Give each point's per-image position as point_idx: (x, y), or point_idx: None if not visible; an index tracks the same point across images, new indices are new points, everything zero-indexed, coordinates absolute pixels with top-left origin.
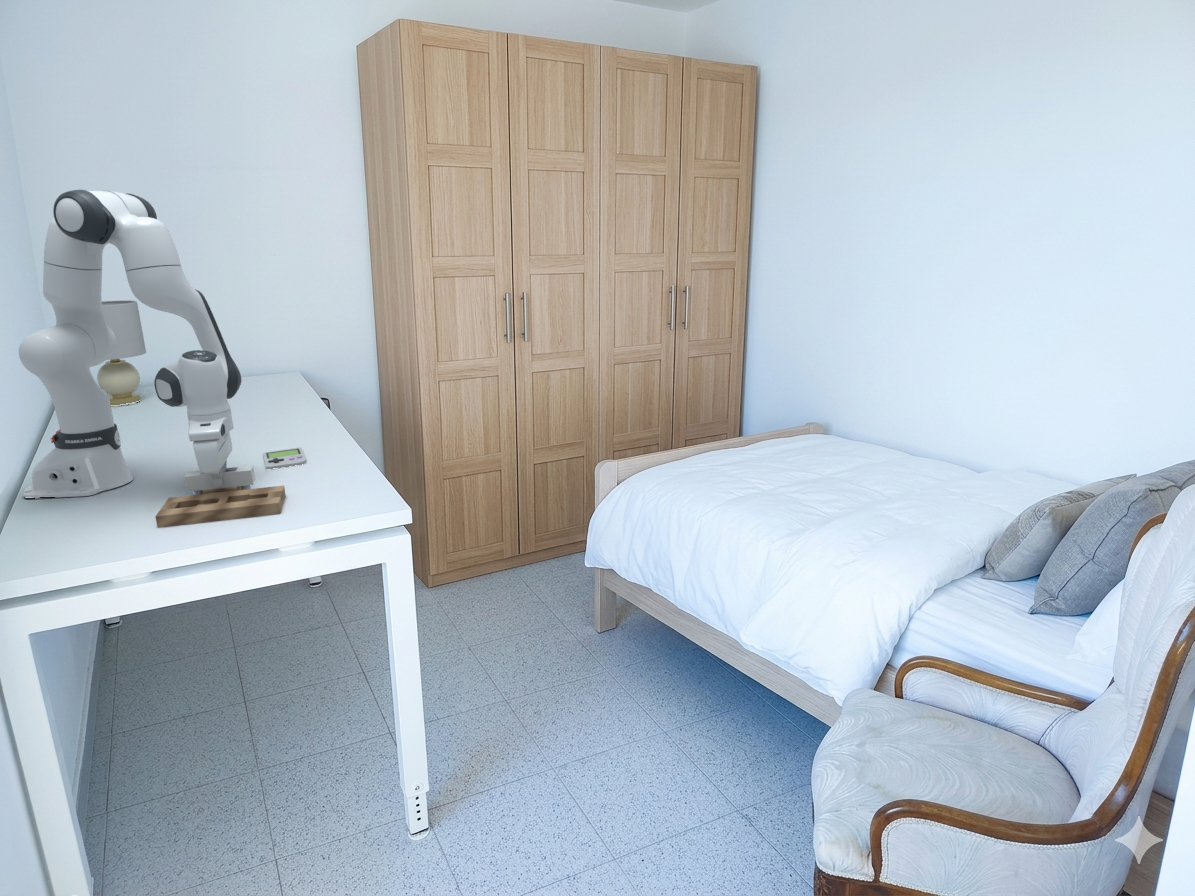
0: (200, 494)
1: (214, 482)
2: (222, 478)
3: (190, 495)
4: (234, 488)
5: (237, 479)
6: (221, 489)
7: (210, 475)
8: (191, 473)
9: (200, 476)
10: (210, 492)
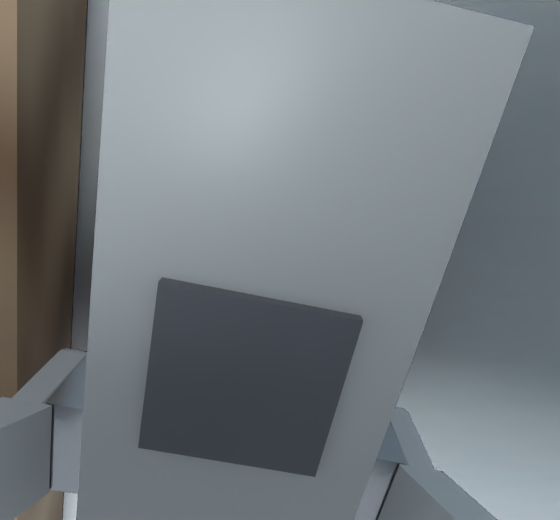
0: (10, 180)
1: (42, 378)
2: None
3: (11, 68)
4: None
5: None
6: None
7: (90, 401)
8: (325, 109)
9: (102, 262)
10: None
